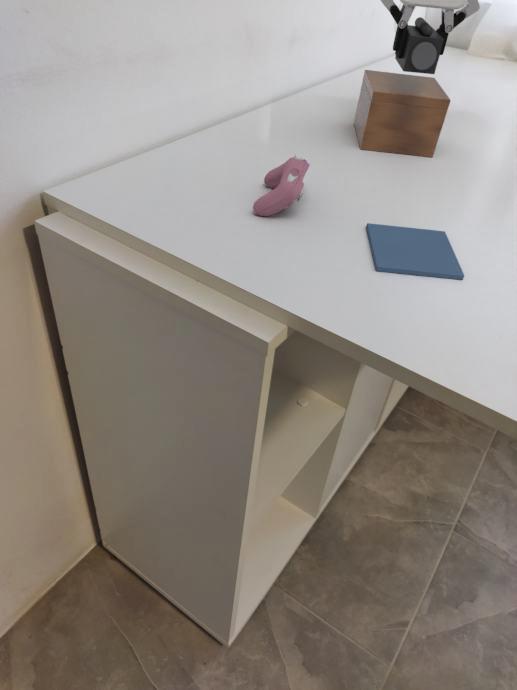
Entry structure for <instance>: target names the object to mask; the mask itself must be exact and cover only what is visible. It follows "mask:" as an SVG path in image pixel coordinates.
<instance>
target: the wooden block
mask: <svg viewBox="0 0 517 690" xmlns="http://www.w3.org/2000/svg"><path fill="white" fill-rule="evenodd" d="M451 101H452V100H451V99H450V97H449V96H448V94H447V93H446V91H445V90H444V89H443V88H442V86H441V84H440V83H439V82H438V80H437V79H436V77H432V76H431V77H430V76H423V75H414V74H406V73H396V72H388V71H380V70H372V69H371V70H370V69H364V71H363V76H362V82H361V87H360V91H359V96H358V101H357V106H356V111H355V115H354V120H353V127H354V130H355V134H356V137H357V142H358V146H359V149H360V150H364V151H372V152H381V153H388V154H389V153H390V154H391V153H392V154H398V155H408V156H416V157H417V156H418V157H425V158H426V157H427V158H433V157H434V154H435V152H436V151H435V150H436V147H437V145H438V141H439V139H440V135H441V132H442V129H443V126H444V123H445V120H446V117H447V114H448V109H449V107H450V104H451Z"/></svg>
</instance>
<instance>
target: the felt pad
mask: <svg viewBox="0 0 517 690" xmlns="http://www.w3.org/2000/svg"><path fill="white" fill-rule="evenodd" d="M365 228H366V233H367V237H368V241H369V246H370V249H371V250H370V251H371V255H372V259H373V264H374V268H375V271H376V272H383V273H394V274H404V275H411V276H412V275H413V276H420V277H421V276H422V277H429V278H440V279H450V280H452V279H453V280H460V281H463V280H464V278H465V273H464V272H463V269H462V267H461V265H460V263H459V260H458V258H457V255H456V254H455V251H454V249H453V246H452V244H451V241H450V240H449V237H448V235H447V233H446V231H443V230H436V229H435V230H434V229H426V228H416V227H408V226H407V227H406V226H397V225H388V224H379V223H369V222H367V223H366V226H365Z"/></svg>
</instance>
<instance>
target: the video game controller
mask: <svg viewBox="0 0 517 690" xmlns="http://www.w3.org/2000/svg"><path fill="white" fill-rule="evenodd" d="M309 167H310V163H308V161H307V160H306V159H303V158H302V157H298V156H297V155H296V154H295V155H294V157H290V158H288V159H287V160H286V161H285V162H283V163H282V164H280V165H278V166H277V167H275V168H272V169H271V170H269V171H268V172H267V173H266V174H265V176H264V178H263V183H264V185H265V186H266V188H269V189H272V190H271V191H269V192H267V193H265V194H263V195H262V196H260V197H259V198H257V199H256V201H254V203H253V206H252V210H253V213H254V214H255V215H257V216H261V217H267V216H268V217H269V216H273V215H275V214H277V213H280V212H281V211H285V210H286V209H287V208H288V207H290V206H292V205H293V204H294V202H295V201H296V202H297V203H299V202H301V201H302V199H303V197H304V193H302V192H301V191H303V188H304V185H305V182H304V178H305V175H306V173H307V171H308V169H309Z"/></svg>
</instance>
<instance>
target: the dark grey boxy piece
mask: <svg viewBox="0 0 517 690" xmlns="http://www.w3.org/2000/svg"><path fill="white" fill-rule="evenodd" d="M407 29H408V30H409V32H408V36H407V41H406V45H405V49H404V54H403V58H401V59H400V58H397V56H396V55H395V57H394V58H395V60H396V63H398V65H399V67H400V68H401V70H402V72H404V73H405V72H406V73H415V74H416V73H417V74H426V75H435V74H436V70H437V66H438V62H439V60H440V56H441V55H440V52H441V48H442V44H443V40H444V39H443V38H442V37H441V36H440V35H439V34H438V33H437V32H436V29H435V28H434V27H433V26H431V24H429V23H428V21H426V20H425V19H424V18H423V17H421V16H419V17H417V18H416V19H415V21H414V25H409V24H408V27H407ZM439 55H440V56H439ZM438 59H439V60H438Z"/></svg>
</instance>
